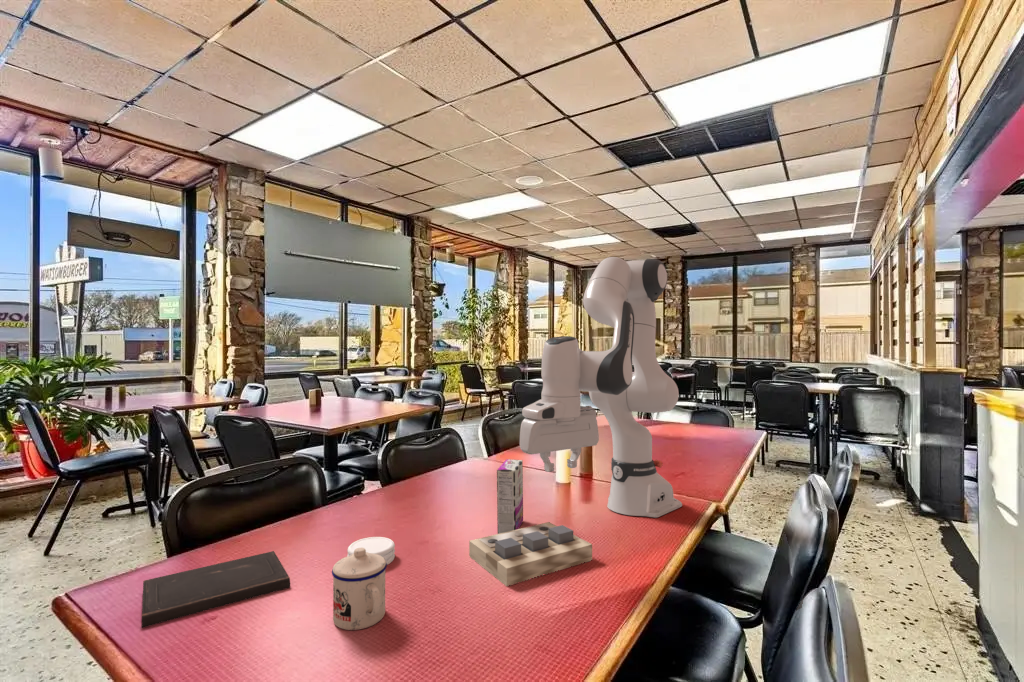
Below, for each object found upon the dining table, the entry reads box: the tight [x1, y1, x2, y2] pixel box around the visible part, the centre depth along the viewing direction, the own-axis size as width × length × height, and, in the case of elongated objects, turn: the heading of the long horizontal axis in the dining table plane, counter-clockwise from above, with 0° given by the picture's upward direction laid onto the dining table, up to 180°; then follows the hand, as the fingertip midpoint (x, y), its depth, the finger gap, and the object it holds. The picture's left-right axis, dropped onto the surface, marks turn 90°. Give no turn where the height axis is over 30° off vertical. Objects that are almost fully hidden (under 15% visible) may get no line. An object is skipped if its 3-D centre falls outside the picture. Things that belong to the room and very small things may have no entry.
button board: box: [468, 521, 593, 587], centre depth 108 cm, size 22×16×4 cm
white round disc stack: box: [346, 536, 396, 565], centre depth 107 cm, size 10×10×4 cm
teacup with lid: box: [331, 548, 387, 631], centre depth 83 cm, size 12×9×12 cm
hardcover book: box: [141, 550, 291, 629], centre depth 94 cm, size 16×23×2 cm
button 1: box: [495, 538, 521, 560], centre depth 102 cm, size 4×4×3 cm
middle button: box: [523, 531, 548, 552], centre depth 106 cm, size 4×4×3 cm
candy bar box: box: [496, 458, 524, 534], centre depth 126 cm, size 11×5×16 cm, turn 168°
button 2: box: [548, 524, 574, 545], centre depth 110 cm, size 4×4×3 cm
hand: (560, 469), depth 110 cm, fingers open, 5 cm apart
